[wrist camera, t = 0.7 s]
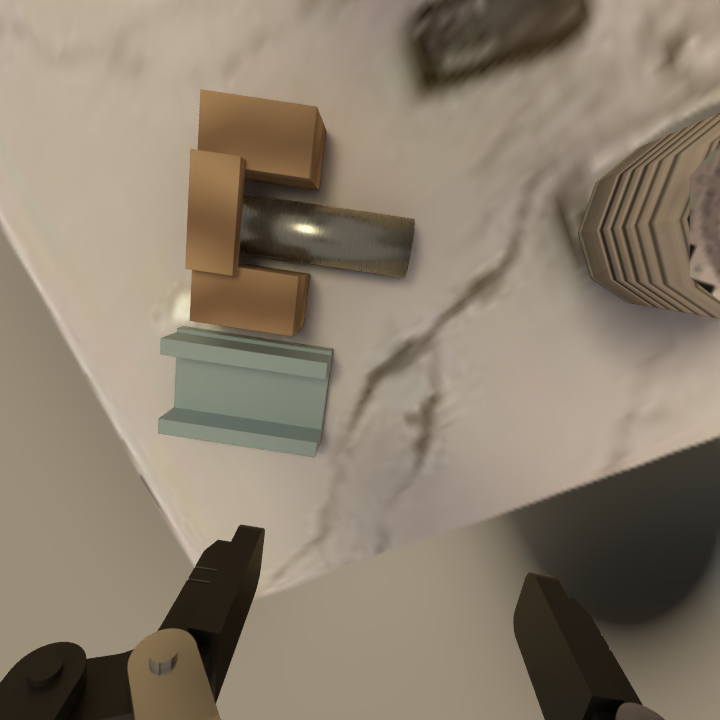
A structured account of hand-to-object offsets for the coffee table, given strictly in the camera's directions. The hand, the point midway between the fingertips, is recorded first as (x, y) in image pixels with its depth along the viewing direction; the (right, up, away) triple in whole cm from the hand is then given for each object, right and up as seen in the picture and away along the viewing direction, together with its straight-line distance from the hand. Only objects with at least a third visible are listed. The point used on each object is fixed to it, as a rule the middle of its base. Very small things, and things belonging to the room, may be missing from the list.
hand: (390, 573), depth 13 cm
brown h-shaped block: (-8, +16, +18) cm, 26 cm away
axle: (-4, +15, +17) cm, 23 cm away
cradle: (-10, +4, +21) cm, 24 cm away
